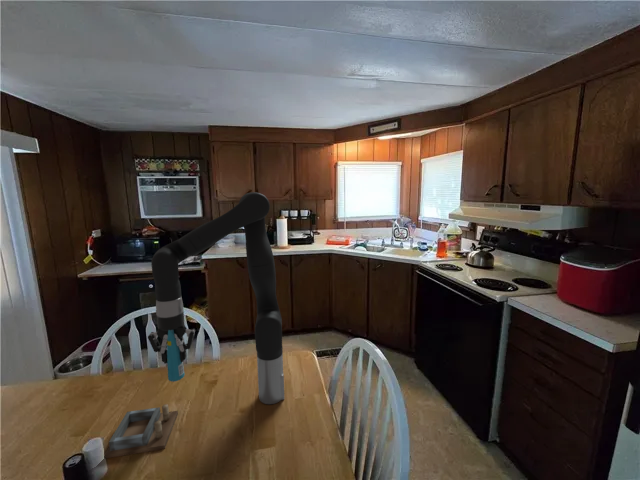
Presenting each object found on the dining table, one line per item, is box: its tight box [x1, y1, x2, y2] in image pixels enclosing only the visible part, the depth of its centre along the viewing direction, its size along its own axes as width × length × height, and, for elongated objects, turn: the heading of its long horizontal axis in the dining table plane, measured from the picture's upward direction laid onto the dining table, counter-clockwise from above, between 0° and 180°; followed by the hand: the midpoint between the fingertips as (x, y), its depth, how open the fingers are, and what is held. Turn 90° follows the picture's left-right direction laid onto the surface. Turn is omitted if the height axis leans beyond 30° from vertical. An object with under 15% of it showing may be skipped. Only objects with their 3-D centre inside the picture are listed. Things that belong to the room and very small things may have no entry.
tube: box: [166, 330, 185, 382], centre depth 94 cm, size 7×5×19 cm, turn 23°
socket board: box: [104, 403, 179, 459], centre depth 92 cm, size 16×14×6 cm
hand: (174, 361), depth 94 cm, fingers closed on tube, 4 cm apart
